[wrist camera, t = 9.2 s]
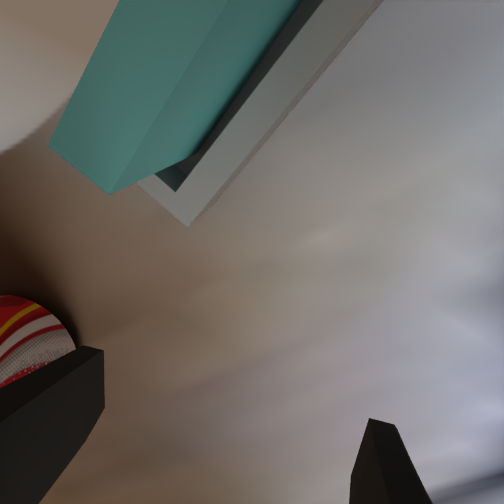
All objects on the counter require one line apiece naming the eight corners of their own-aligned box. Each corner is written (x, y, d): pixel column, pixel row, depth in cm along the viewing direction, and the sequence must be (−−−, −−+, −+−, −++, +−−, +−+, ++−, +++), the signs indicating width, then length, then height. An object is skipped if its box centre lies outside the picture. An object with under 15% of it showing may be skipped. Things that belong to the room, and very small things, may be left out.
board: (348, -65, 14) (344, -191, 7) (196, 153, 17) (108, 194, 11) (300, -108, 14) (255, -274, 7) (158, 121, 17) (47, 145, 11)
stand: (423, -49, 14) (440, -79, 11) (210, 206, 19) (187, 227, 17) (296, -178, 14) (282, -242, 11) (111, 119, 19) (71, 126, 16)
